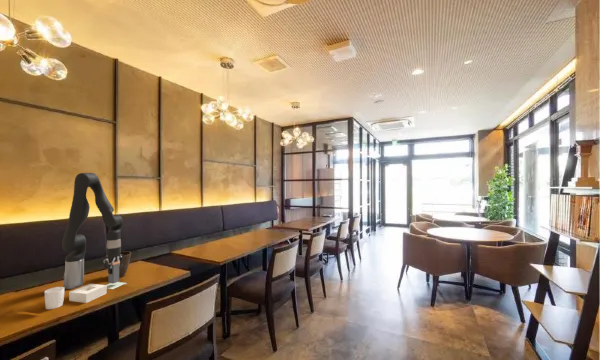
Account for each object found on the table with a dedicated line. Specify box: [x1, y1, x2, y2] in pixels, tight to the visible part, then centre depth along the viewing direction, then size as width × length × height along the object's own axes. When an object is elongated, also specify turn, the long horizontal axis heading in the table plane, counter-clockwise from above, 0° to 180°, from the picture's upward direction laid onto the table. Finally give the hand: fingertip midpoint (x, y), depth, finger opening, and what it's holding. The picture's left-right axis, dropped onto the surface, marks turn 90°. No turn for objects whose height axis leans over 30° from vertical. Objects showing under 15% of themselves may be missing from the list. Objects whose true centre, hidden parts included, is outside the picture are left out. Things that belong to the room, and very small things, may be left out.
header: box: [68, 283, 108, 304], centre depth 149 cm, size 12×12×6 cm
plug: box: [107, 261, 120, 284], centre depth 166 cm, size 5×5×13 cm
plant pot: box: [105, 250, 132, 278], centre depth 184 cm, size 15×15×16 cm
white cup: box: [44, 286, 65, 310], centre depth 138 cm, size 8×8×10 cm
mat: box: [106, 281, 127, 290], centre depth 166 cm, size 10×10×1 cm
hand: (113, 272), depth 166 cm, fingers closed on plug, 4 cm apart
